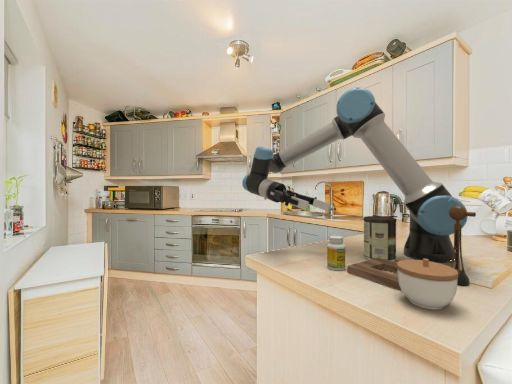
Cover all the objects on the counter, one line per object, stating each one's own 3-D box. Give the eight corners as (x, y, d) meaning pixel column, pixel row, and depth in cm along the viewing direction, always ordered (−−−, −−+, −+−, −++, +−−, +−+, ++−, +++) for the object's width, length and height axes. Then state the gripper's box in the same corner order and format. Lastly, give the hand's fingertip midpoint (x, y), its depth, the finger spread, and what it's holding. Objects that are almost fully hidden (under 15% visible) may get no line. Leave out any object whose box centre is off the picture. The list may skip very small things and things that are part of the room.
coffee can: (386, 254, 90) (386, 216, 90) (402, 262, 80) (403, 219, 80) (358, 254, 90) (358, 216, 90) (371, 262, 80) (371, 219, 80)
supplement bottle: (334, 264, 79) (334, 234, 78) (349, 268, 74) (349, 237, 74) (323, 267, 76) (323, 236, 75) (337, 272, 71) (337, 239, 71)
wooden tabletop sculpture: (478, 285, 61) (479, 206, 60) (468, 289, 59) (469, 206, 58) (451, 278, 66) (452, 204, 66) (441, 280, 64) (442, 205, 64)
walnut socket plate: (377, 263, 79) (377, 257, 79) (430, 278, 66) (430, 271, 66) (347, 272, 71) (347, 265, 71) (400, 290, 58) (400, 282, 58)
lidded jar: (387, 300, 53) (387, 257, 53) (409, 288, 60) (409, 250, 59) (446, 322, 45) (447, 271, 44) (465, 305, 51) (466, 260, 51)
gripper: (290, 201, 104) (334, 218, 89) (247, 198, 86) (293, 217, 71) (294, 184, 103) (340, 198, 88) (251, 177, 85) (299, 193, 70)
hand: (319, 207), depth 80 cm, fingers open, 13 cm apart
